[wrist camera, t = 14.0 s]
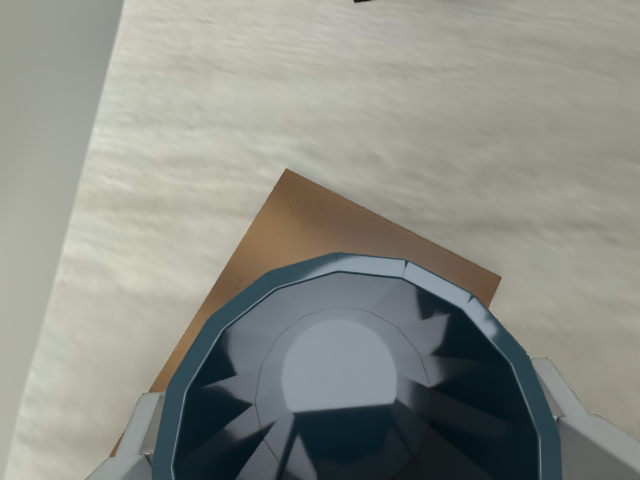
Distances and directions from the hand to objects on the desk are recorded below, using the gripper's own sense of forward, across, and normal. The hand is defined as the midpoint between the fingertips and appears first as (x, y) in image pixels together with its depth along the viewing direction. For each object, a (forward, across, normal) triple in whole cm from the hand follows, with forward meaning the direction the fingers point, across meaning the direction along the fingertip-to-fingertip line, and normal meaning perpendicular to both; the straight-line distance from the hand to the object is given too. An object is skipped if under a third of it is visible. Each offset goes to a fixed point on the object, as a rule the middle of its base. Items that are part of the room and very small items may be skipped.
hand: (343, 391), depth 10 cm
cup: (+3, 0, +4) cm, 5 cm away
